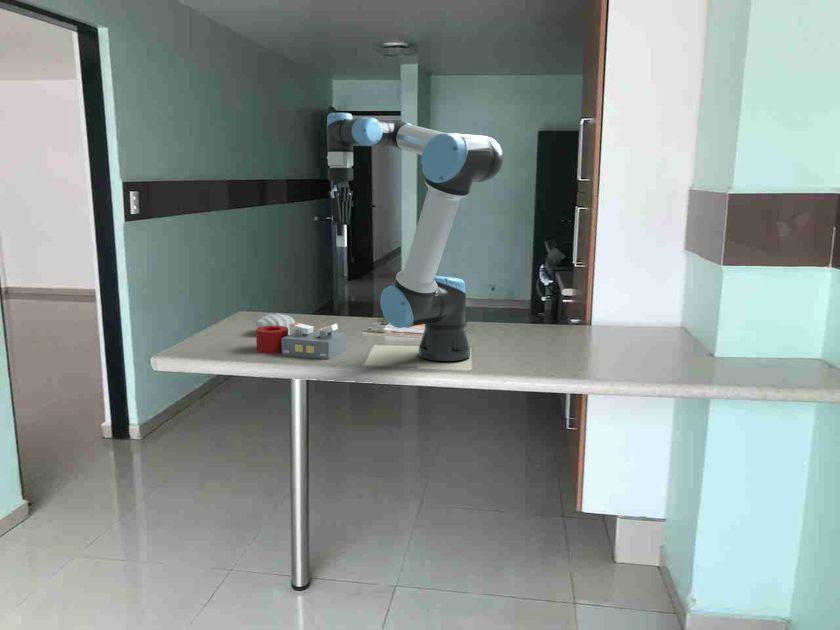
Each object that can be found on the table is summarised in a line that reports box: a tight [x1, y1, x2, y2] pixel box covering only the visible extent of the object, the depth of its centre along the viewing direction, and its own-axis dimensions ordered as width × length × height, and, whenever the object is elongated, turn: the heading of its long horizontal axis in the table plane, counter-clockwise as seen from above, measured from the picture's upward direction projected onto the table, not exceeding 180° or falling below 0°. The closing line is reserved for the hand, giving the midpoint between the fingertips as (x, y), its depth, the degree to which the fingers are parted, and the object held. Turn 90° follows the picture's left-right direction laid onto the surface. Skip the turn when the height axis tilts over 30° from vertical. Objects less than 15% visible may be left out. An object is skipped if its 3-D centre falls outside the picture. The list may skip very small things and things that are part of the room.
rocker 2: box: [313, 323, 339, 337], centre depth 198 cm, size 6×4×2 cm, turn 72°
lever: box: [255, 326, 288, 354], centre depth 206 cm, size 18×9×7 cm, turn 159°
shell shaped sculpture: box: [255, 312, 296, 335], centre depth 223 cm, size 13×13×6 cm
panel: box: [281, 329, 347, 360], centre depth 199 cm, size 15×12×7 cm
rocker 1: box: [290, 321, 315, 334], centre depth 200 cm, size 6×4×2 cm, turn 72°
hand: (341, 246), depth 205 cm, fingers closed
